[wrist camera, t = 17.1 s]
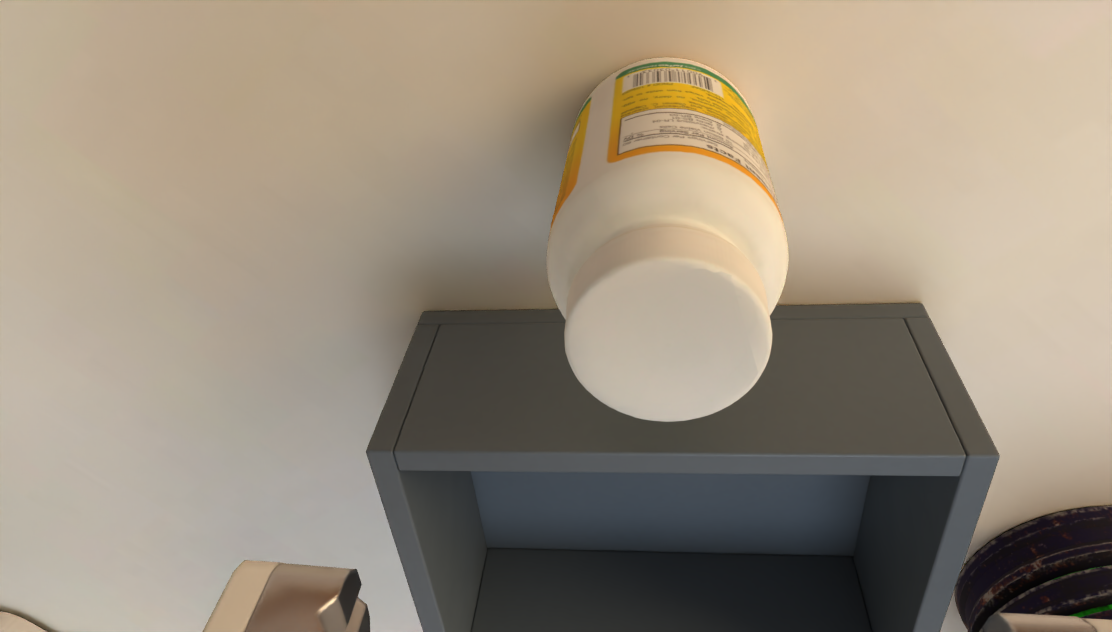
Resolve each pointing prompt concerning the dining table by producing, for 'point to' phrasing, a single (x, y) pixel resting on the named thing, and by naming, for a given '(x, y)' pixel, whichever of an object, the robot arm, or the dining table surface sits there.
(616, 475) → the box shelf
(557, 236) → the supplement bottle
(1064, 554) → the dark barrel
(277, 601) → the robot arm
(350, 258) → the dining table surface
